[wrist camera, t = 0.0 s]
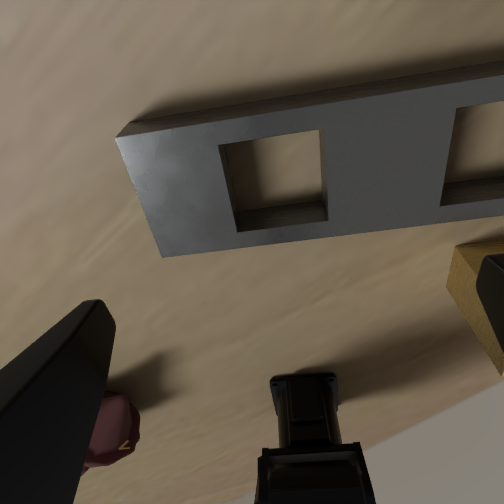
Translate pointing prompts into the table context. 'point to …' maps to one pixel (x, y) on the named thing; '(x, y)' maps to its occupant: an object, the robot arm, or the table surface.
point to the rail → (332, 163)
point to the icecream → (113, 431)
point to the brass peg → (475, 294)
